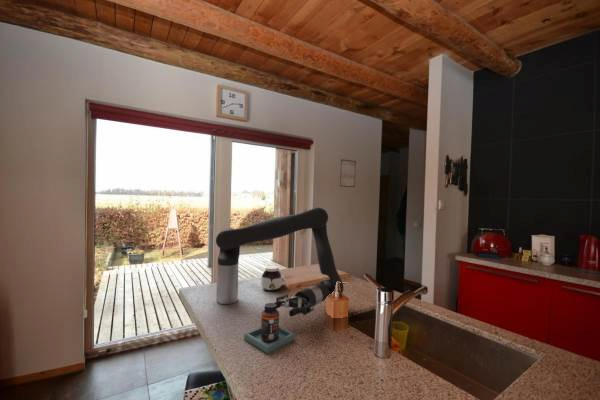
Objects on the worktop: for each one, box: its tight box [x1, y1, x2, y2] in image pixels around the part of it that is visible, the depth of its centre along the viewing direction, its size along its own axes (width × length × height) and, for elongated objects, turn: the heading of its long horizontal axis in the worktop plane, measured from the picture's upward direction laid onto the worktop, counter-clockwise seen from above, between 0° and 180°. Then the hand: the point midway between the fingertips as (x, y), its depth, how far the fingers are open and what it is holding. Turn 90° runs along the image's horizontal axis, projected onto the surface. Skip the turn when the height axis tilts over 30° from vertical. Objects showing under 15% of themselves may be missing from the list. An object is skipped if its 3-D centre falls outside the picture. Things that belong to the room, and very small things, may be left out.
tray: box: [243, 325, 296, 356], centre depth 92 cm, size 12×12×2 cm
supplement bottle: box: [260, 302, 280, 342], centre depth 92 cm, size 6×6×11 cm
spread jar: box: [261, 265, 287, 292], centre depth 145 cm, size 12×11×12 cm
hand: (281, 310), depth 97 cm, fingers open, 8 cm apart
